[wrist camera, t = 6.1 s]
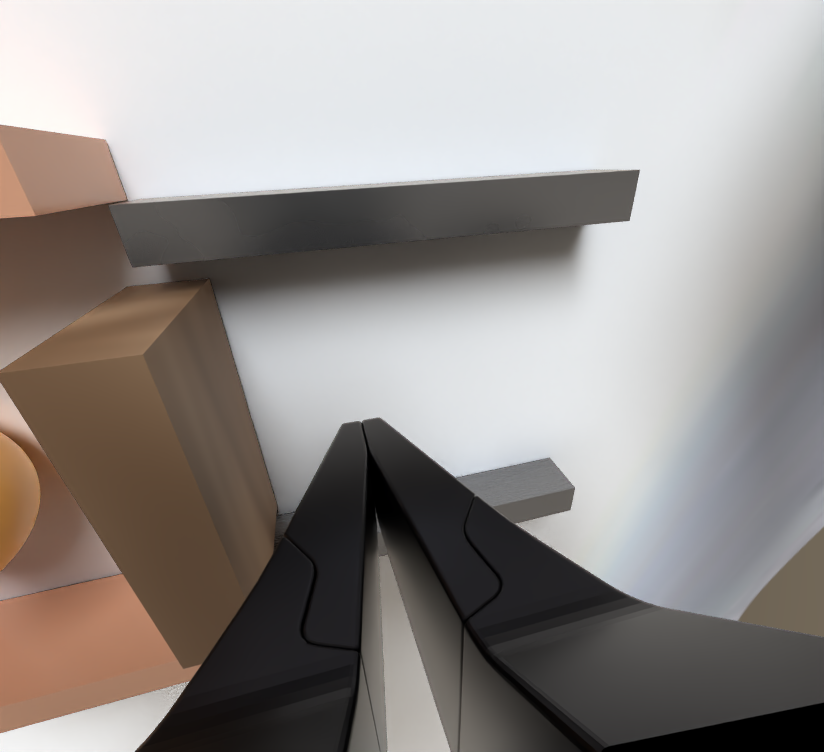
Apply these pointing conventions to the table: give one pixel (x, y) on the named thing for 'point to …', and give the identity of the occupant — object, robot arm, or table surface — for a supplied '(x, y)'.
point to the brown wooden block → (157, 452)
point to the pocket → (98, 599)
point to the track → (380, 224)
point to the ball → (16, 498)
